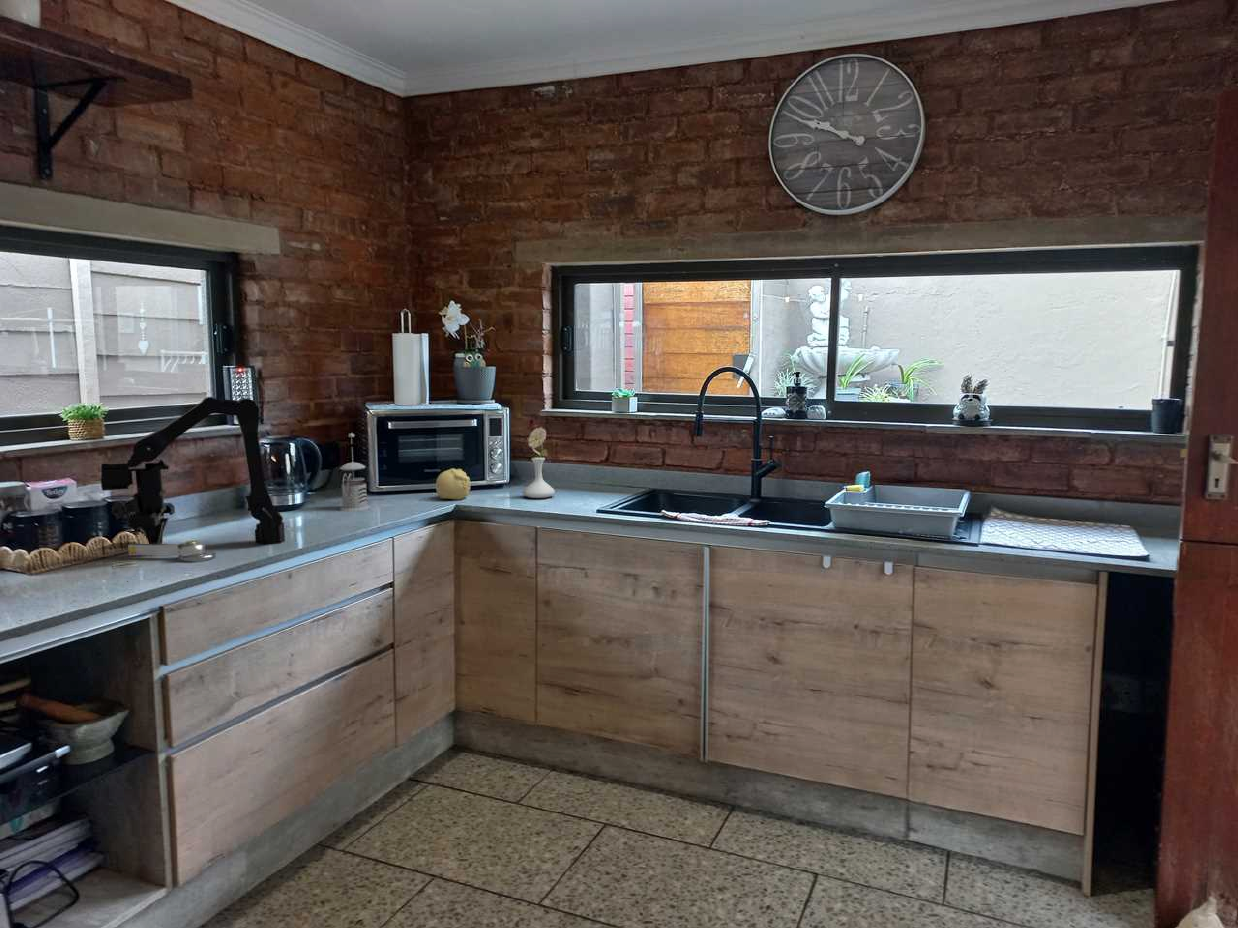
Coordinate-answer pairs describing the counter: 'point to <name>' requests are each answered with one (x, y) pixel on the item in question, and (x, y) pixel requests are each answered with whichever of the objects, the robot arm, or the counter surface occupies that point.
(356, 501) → the french press
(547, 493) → the flower in vase
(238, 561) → the counter surface
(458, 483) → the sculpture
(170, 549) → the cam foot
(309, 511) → the counter surface
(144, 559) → the counter surface
